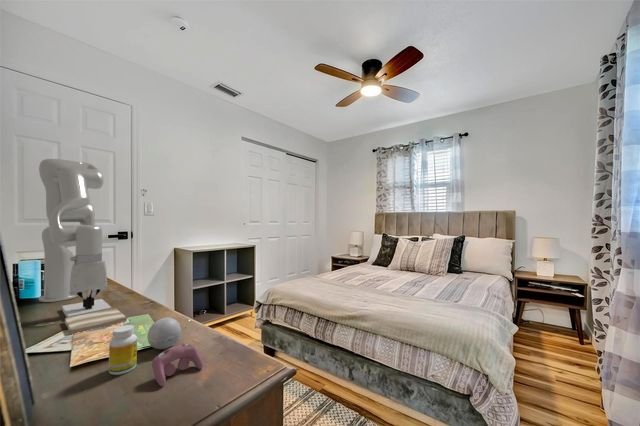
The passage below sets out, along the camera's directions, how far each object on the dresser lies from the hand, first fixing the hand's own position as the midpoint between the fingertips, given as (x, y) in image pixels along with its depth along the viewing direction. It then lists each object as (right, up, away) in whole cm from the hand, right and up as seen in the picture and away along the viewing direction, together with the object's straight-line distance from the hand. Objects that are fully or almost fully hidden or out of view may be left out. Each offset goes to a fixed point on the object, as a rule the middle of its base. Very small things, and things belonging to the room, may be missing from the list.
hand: (88, 308), depth 102 cm
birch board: (+10, -2, -9) cm, 14 cm away
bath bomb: (+43, -2, -26) cm, 51 cm away
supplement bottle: (+39, -2, -37) cm, 54 cm away
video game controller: (+53, -2, -39) cm, 66 cm away
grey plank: (-2, -2, +2) cm, 3 cm away
